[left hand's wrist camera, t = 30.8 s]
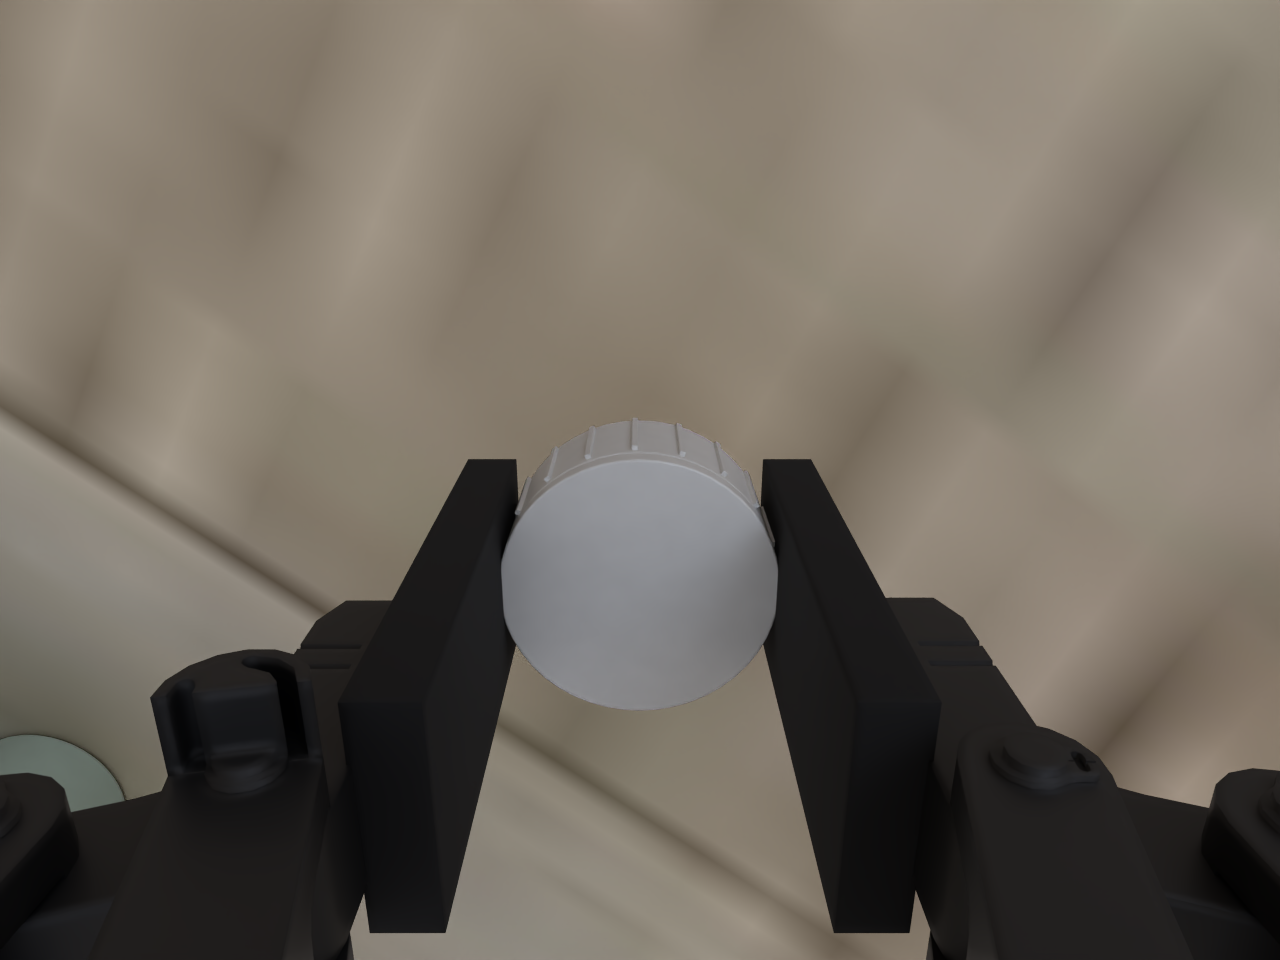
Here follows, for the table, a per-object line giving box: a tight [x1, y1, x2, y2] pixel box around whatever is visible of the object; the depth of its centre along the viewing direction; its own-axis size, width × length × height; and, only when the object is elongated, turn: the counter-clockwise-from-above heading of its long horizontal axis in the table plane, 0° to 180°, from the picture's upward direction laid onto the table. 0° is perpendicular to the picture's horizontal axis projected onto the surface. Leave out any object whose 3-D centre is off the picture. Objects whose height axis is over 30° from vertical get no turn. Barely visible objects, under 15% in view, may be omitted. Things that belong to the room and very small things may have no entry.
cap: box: [501, 418, 778, 710], centre depth 13 cm, size 4×4×2 cm
